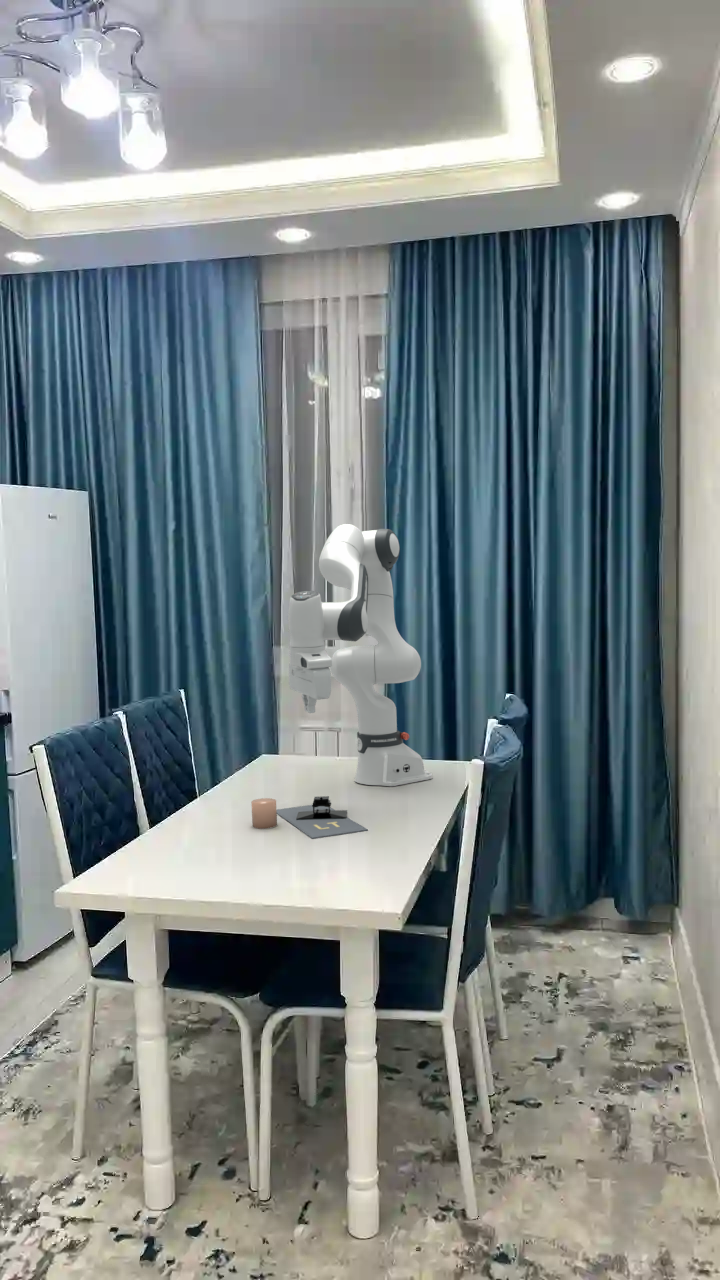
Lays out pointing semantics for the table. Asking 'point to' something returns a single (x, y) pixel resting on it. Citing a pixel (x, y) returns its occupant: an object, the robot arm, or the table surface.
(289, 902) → the table surface
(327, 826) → the mat
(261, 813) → the peach rounded cylinder
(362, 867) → the table surface
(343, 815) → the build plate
